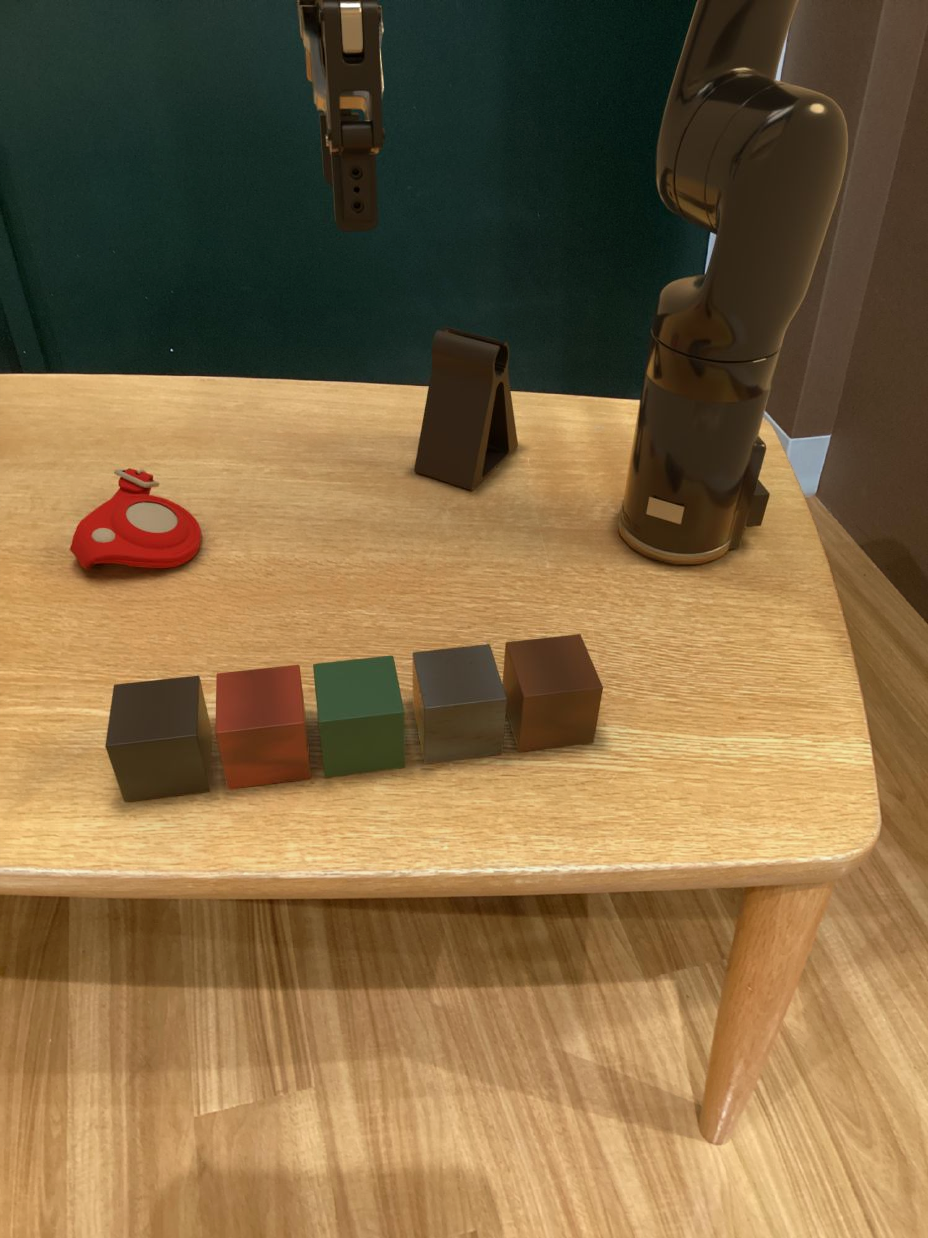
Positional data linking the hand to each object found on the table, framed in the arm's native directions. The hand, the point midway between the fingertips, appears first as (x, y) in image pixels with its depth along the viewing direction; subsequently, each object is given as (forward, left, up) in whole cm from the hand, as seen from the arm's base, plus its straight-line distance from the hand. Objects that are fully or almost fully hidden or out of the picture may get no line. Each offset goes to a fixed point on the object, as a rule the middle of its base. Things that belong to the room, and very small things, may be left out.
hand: (349, 204), depth 52 cm
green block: (+2, +15, -28) cm, 32 cm away
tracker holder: (+17, -10, -28) cm, 34 cm away
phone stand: (-11, -18, -28) cm, 35 cm away
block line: (+2, +15, -28) cm, 32 cm away
